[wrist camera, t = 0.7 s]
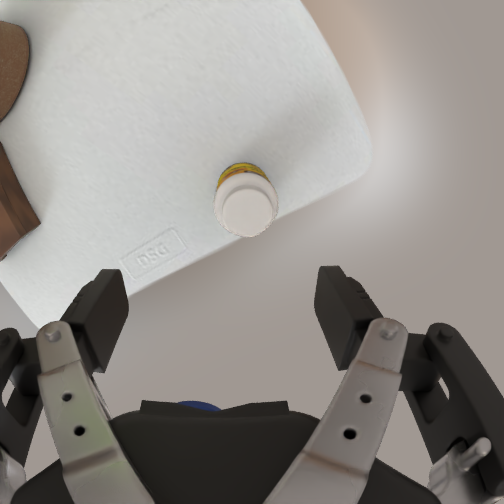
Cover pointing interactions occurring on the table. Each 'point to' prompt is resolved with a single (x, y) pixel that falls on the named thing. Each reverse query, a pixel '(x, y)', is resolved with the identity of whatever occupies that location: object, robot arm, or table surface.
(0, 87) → the planter
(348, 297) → the robot arm
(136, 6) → the table surface
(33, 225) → the shelf
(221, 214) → the supplement bottle
